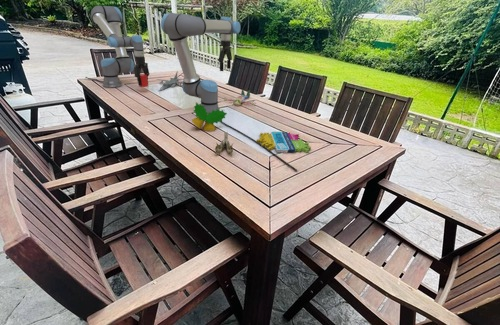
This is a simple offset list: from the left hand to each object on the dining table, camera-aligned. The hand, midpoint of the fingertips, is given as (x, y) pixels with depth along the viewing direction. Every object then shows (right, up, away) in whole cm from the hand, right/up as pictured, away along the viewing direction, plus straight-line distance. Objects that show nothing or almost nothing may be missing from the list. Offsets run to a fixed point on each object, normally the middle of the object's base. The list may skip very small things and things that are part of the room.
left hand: (143, 84), depth 224 cm
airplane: (+16, +7, +27) cm, 32 cm away
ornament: (+66, -46, -60) cm, 100 cm away
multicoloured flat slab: (+110, -56, -72) cm, 143 cm away
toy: (+85, -16, -4) cm, 86 cm away
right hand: (+72, +7, -17) cm, 74 cm away
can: (0, -1, +1) cm, 1 cm away
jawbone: (+78, -61, -86) cm, 131 cm away
